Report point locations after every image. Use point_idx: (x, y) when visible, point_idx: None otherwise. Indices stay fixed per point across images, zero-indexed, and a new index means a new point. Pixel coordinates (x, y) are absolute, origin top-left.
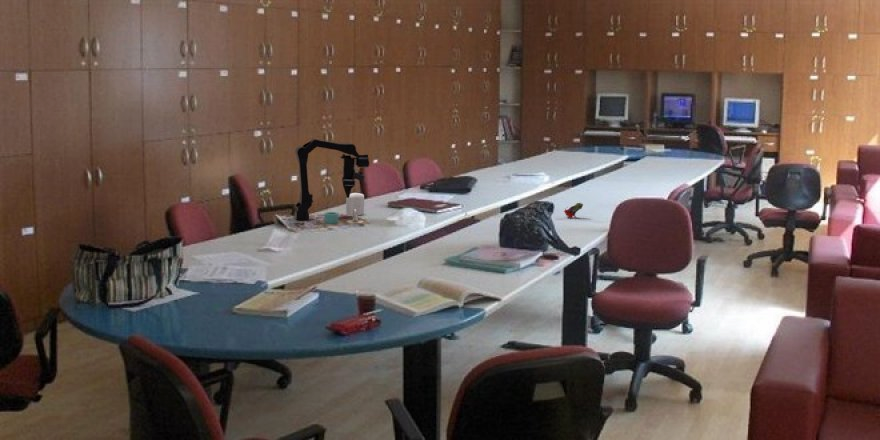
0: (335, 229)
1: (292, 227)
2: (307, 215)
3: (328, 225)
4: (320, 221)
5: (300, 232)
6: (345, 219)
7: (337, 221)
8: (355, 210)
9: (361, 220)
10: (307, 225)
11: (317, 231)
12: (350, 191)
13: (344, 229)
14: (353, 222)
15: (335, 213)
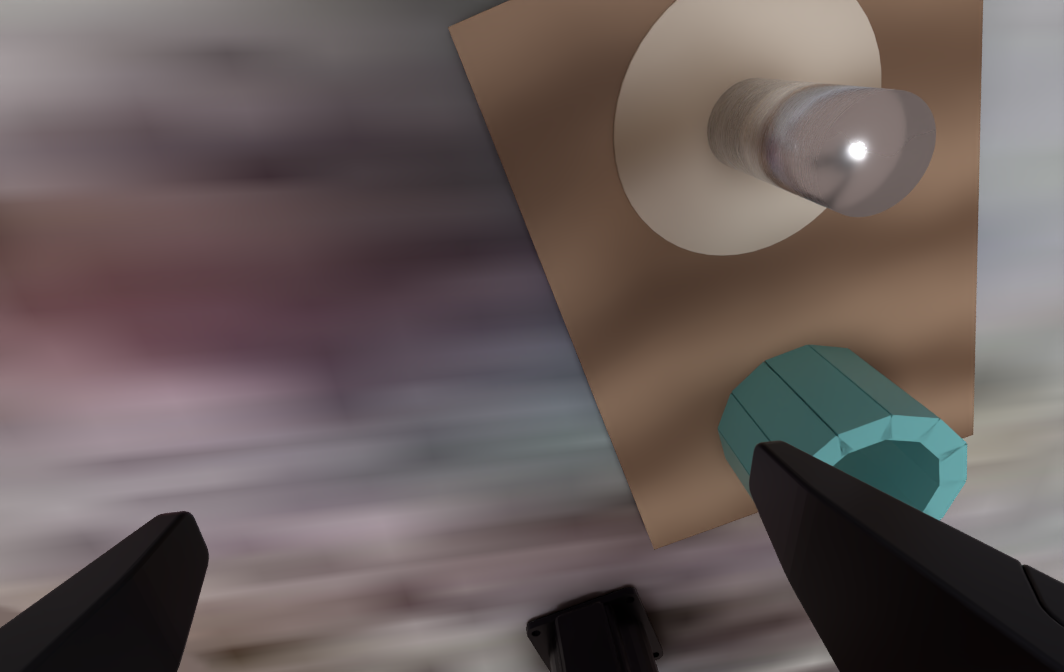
0: (999, 337)
1: (818, 644)
2: (628, 666)
3: (950, 425)
4: (700, 519)
5: (1041, 569)
6: (548, 279)
7: (866, 363)
8: (924, 149)
9: (625, 10)
10: (738, 577)
11: (1045, 472)
12: (1059, 587)
13: (1030, 243)
14: None
15: (838, 450)
